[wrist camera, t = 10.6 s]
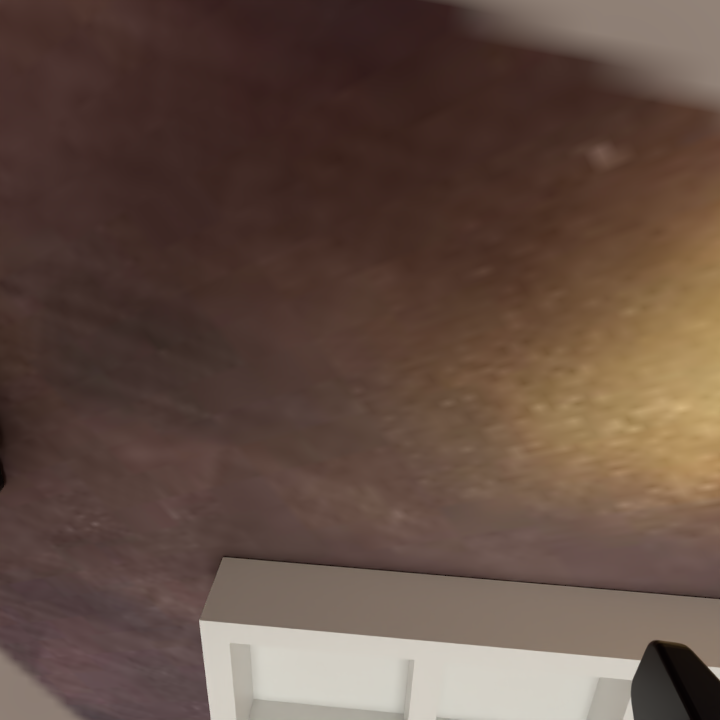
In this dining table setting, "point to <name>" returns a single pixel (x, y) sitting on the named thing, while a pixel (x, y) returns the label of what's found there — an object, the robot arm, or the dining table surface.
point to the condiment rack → (431, 645)
